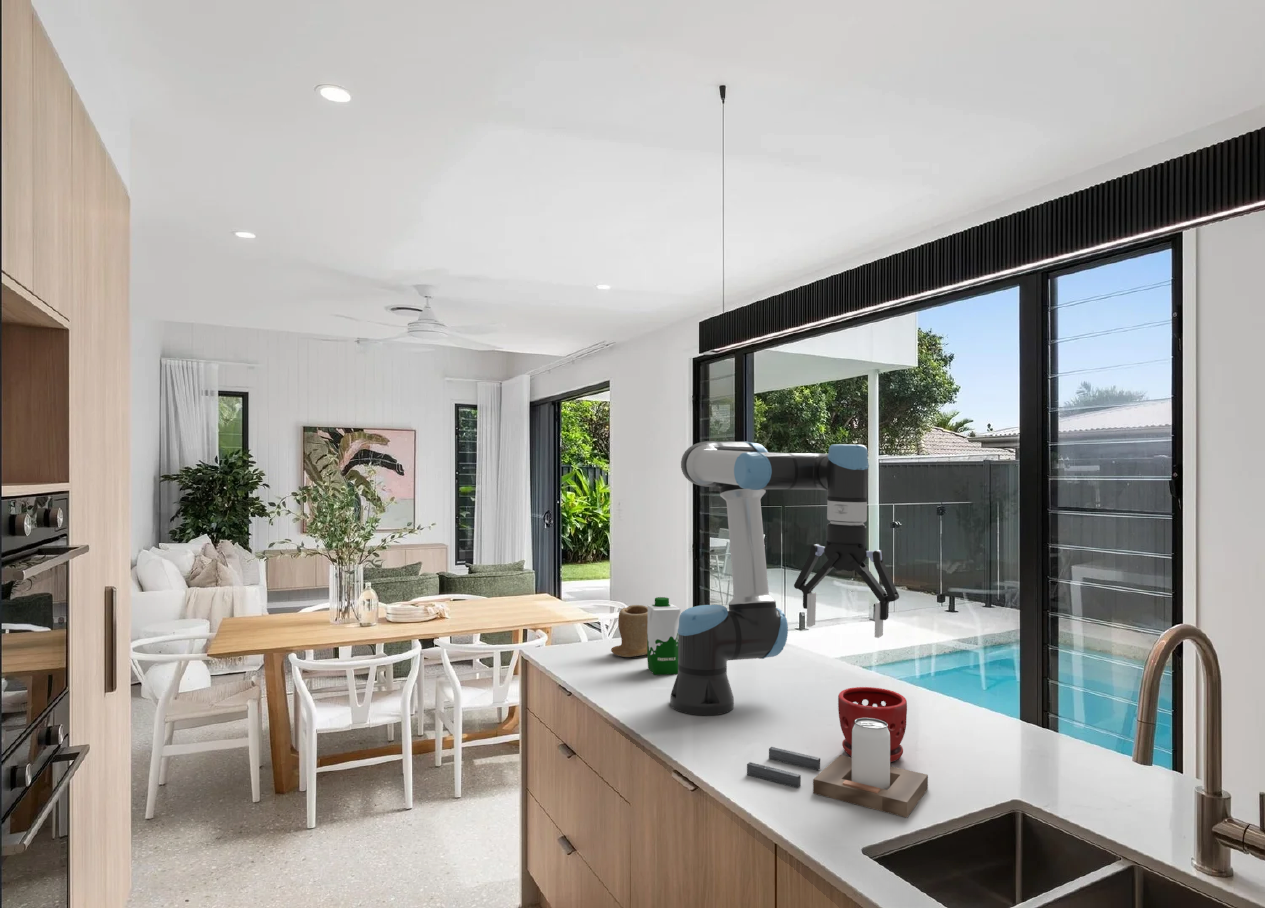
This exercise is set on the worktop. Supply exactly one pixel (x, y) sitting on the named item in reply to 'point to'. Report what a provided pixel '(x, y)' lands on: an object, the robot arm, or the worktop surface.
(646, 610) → the brown boot
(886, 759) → the can
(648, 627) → the milk carton
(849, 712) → the plant pot
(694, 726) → the worktop surface
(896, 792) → the plate
